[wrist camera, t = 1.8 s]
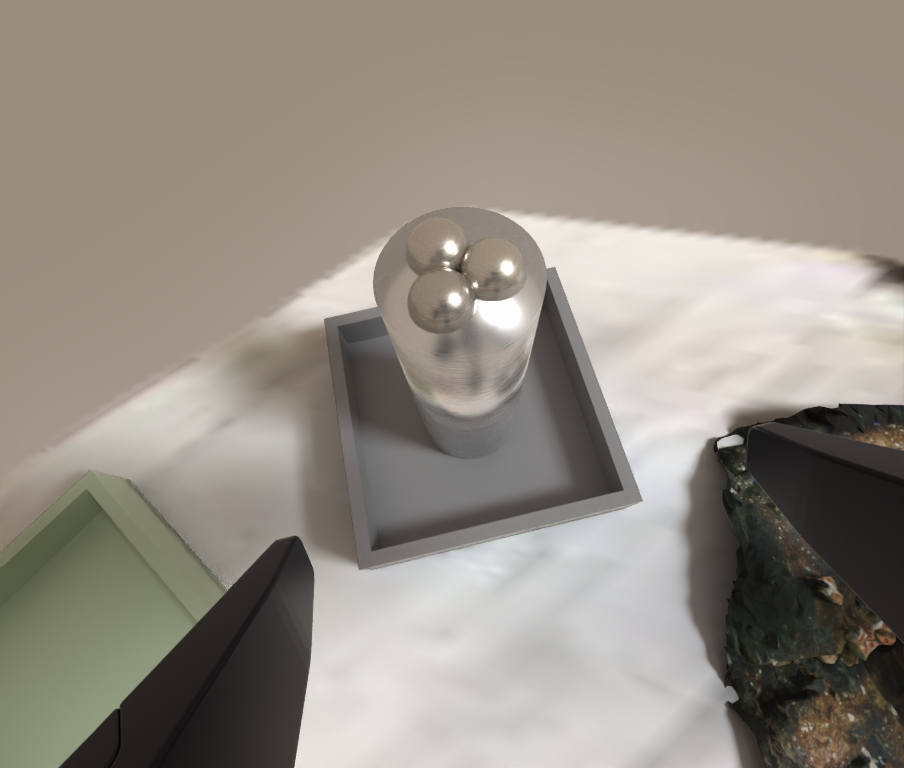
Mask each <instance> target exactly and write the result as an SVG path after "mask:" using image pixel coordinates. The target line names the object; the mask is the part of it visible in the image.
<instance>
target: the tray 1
mask: <svg viewBox="0 0 904 768" xmlns="http://www.w3.org/2000/svg"><path fill="white" fill-rule="evenodd" d="M227 591H228V590H227V589H226V588H225V587H224V586H223V585H222V584H221V582H220V581H219V580H218V579H217V578H216V577H215V576H214V575H213V573H212V572H211V571H210V570H209V569H208V568H207V567H206V566H205V564H204V563H203V562H202V561H201V560H200V559H199V558H198V556H197V555H196V554H195V553H194V552H193V551H192V550H191V549H190V547H189V546H188V545H187V544H186V543H185V542H184V541H183V540H182V538H181V537H180V536H179V535H178V534H177V533H176V532H175V530H174V529H173V528H172V527H171V526H170V525H169V524H168V523H167V521H166V520H165V519H164V518H163V517H162V516H161V515H160V514H159V512H158V511H157V510H156V509H155V508H154V507H153V506H152V504H151V503H150V502H149V501H148V500H147V499H146V498H145V497H144V495H143V494H142V493H141V492H140V491H139V490H138V489H137V487H136V486H135V485H134V484H133V483H132V482H131V481H130V480H128V479H124V478H120V477H116V476H112V475H108V474H104V473H100V472H96V471H92V470H90V471H89V472H88V473H87V474H86V475H84V476H83V477H82V478H81V479H80V480H79V481H78V482H77V483H76V484H75V485H74V486H72V487H71V488H70V489H69V490H68V491H67V492H66V493H65V494H64V495H63V496H62V497H60V498H59V499H58V500H57V501H56V502H55V503H54V504H53V505H52V506H51V507H50V508H48V509H47V510H46V511H45V512H44V513H43V514H42V515H41V516H40V517H39V518H38V519H36V520H35V521H34V522H33V523H32V524H31V525H30V526H29V527H28V528H27V529H26V530H24V531H23V532H22V533H21V534H20V535H19V536H18V537H17V538H16V539H15V540H14V541H12V542H11V543H10V544H9V545H8V546H7V547H6V548H5V549H4V550H3V551H2V552H0V768H58V767H59V766H60V765H61V764H62V763H63V762H64V761H65V760H66V759H67V758H68V757H69V756H70V755H71V754H72V753H73V752H74V751H75V750H76V749H77V748H78V747H79V746H80V745H81V744H82V743H83V742H84V741H85V740H86V739H87V738H88V737H89V736H90V735H91V734H92V733H93V732H94V731H95V729H96V728H97V727H98V726H99V725H100V724H101V723H102V722H103V721H104V720H105V719H106V718H107V717H108V716H109V715H110V714H111V713H112V712H113V710H115V709H117V708H119V707H120V704H121V702H122V701H123V700H124V699H125V698H126V697H127V696H128V695H129V694H130V693H131V692H132V691H133V690H134V689H135V688H136V687H137V685H138V684H139V683H140V682H141V681H142V680H143V679H144V678H145V677H146V676H147V675H148V674H149V673H150V672H151V671H152V670H153V669H154V668H155V667H156V665H157V664H158V663H159V662H160V661H161V660H162V659H163V658H164V657H165V656H166V655H167V654H168V653H169V652H170V651H171V650H172V649H173V648H174V647H175V646H176V644H177V643H178V642H179V641H180V640H181V639H182V638H183V637H184V636H185V635H186V634H187V633H188V632H189V631H190V630H191V629H192V628H193V627H194V626H195V625H196V623H197V622H198V621H199V620H200V619H201V618H202V617H203V616H204V615H205V614H206V613H207V612H208V611H209V610H210V609H211V608H212V607H213V606H214V605H215V603H216V602H217V601H218V600H219V599H220V598H221V597H222V596H223V595H224V594H225V593H226V592H227Z"/></svg>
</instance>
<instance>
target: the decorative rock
mask: <svg viewBox="0 0 904 768" xmlns="http://www.w3.org/2000/svg"><path fill="white" fill-rule="evenodd" d="M770 422H774V423H780V424H784V425H789V426H793V427H798V428H802V429H807V430H811V431H816V432H821V433H825V434H830V435H834V436H839V437H843V438H848V439H853V440H857V441H862V442H866V443H871V444H875V445H880V446H885V447H889V448H894V449H898V450H903V451H904V405H866V404H840V403H839V408H833V409H830V408H826V407H821V406H818V407H813V408H808V409H805V410H802V411H800V412H798V413H797V414H795V415H793V416H791V417H789V418H781V419H775V420H774V421H769V422H765V423H770ZM765 423H757V424H754V425H751V426H747V427H740V428H737V429H736V430H734V431H733V432H732V433H731V434H729V435H727V436H724V437H720V438H718V440H717V441H716V443H715V445H714V452H718V461H719V462H720V463H721V464H722V465H723V466H724V467H725V469H726V472H727V475H728V478H729V479H728V482H727V489H725V490H723V502H724V506H725V508H726V511H727V513H728V515H729V517H730V519H731V521H732V524H733V534H734V535H735V536H736V538H737V539H738V541H739V542H740V543H741V545H740V547H739V549H738V551H737V558H738V567H737V570H736V573H737V579H736V580H734V581H733V583H734V586H735V588H734V589H733V591H732V597H731V598H730V599H727V600H728V603H729V605H728V614H727V615H726V625H727V629H728V632H729V634H727V633H726V638H727V642H726V643H727V647H725V649H726V653H727V659H728V664H729V665H727V670H728V672H727V674H726V675H725V681H726V684H725V688H726V687H727V686H731V684H730V683H729V682H728V681H727V677H729V678H730V680H731V682H732V684H733V687H734V689H735V690H736V692H737V693H738V694H739V698H740V699H739V700H738V701H736V702H734V703H730V702H729V701H728V703H729V705H730V707H731V708H732V709H734V710H735V711H736V712H737V713H738V714H739V715H740V717H741V718H742V719H743V720H744V721H745V723H746V724H747V725H748V726H749V727H750V728H751V729H752V730H753V731H754V733H755V734H756V736H757V741H758V745H759V747H760V749H761V752H762V754H763V756H764V759H765V763H766V767H767V768H904V643H903V642H902V641H901V640H900V639H899V638H898V637H897V636H896V635H895V634H894V633H893V632H892V631H891V630H890V629H889V628H888V627H887V626H886V625H885V624H884V623H883V622H882V621H881V620H880V619H879V618H878V616H877V615H876V614H875V613H874V612H873V611H872V610H871V609H870V608H869V607H868V606H867V605H866V604H865V603H864V602H863V601H862V600H861V599H860V598H859V597H858V596H857V595H856V594H855V593H854V592H853V591H852V590H851V589H850V588H849V586H848V585H847V584H846V583H845V582H844V581H843V580H842V579H841V578H840V577H839V576H838V575H837V574H836V573H835V572H834V571H833V570H832V569H831V568H830V567H829V566H828V565H827V564H826V563H825V562H824V561H823V560H822V559H821V558H820V557H819V555H818V554H817V553H816V552H815V551H814V550H813V549H812V548H811V547H810V546H809V545H808V544H807V543H806V542H805V541H804V540H803V538H802V537H801V536H800V535H799V534H798V533H797V531H796V530H795V529H794V528H793V527H792V526H791V524H790V523H789V522H788V521H787V519H786V518H785V517H784V516H783V514H782V513H781V512H780V511H779V509H778V508H777V507H776V506H775V504H774V503H773V502H772V501H771V499H770V498H769V497H768V496H767V494H766V493H765V492H764V491H763V489H762V488H761V487H760V486H759V484H758V483H757V482H756V481H755V479H754V478H753V477H752V476H751V474H750V472H749V470H748V468H747V464H746V455H747V441H748V432H749V430H750V429H751V428H752V427H754V426H757V425H761V424H765ZM731 435H740V436H742V437H743V438H744V444H743V445H739V446H733V447H727V448H722V449H719V450H718V447H717V442H718V441H719V440H720V439H721V438H725V437H728V436H731Z"/></svg>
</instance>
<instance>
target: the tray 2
mask: <svg viewBox="0 0 904 768" xmlns="http://www.w3.org/2000/svg"><path fill="white" fill-rule="evenodd" d="M546 273H547V284H546V291H545V295H544V299H543V304H542V308H541V312H540V316H539V321H538V325H537V329H536V333H535V337H534V342H533V346H532V350H531V354H530V358H529V363H528V367H527V371H526V375H525V379H524V384H523V388H522V392H521V396H520V400H519V405H518V409H517V413H516V417H515V422H514V426H513V429H512V432H511V434H510V436H509V438H508V439H507V441H506V442H505V443H504V444H503V445H502V446H501V447H500V448H499V449H498V450H497V451H495V452H493V453H492V454H490V455H488V456H485V457H482V458H478V459H460V458H456V457H453V456H451V455H448V454H447V453H445V452H443V451H442V450H441V449H439V448H438V447H437V446H436V445H435V444H434V443H433V441H432V440H431V439H430V437H429V435H428V433H427V430H426V428H425V425H424V423H423V420H422V418H421V415H420V413H419V410H418V408H417V405H416V402H415V400H414V397H413V395H412V392H411V390H410V387H409V385H408V382H407V380H406V377H405V374H404V372H403V369H402V367H401V364H400V362H399V359H398V357H397V354H396V352H395V349H394V346H393V344H392V341H391V339H390V336H389V334H388V331H387V329H386V326H385V324H384V321H383V318H382V316H381V313H380V311H379V308H378V307H375V308H371V309H366V310H362V311H357V312H353V313H348V314H344V315H340V316H335V317H331V318H326V319H324V321H325V328H326V335H327V343H328V350H329V357H330V364H331V372H332V379H333V386H334V393H335V400H336V408H337V415H338V422H339V429H340V436H341V444H342V451H343V458H344V465H345V473H346V480H347V487H348V494H349V501H350V509H351V516H352V523H353V530H354V537H355V545H356V552H357V559H358V566H359V570H373V569H377V568H381V567H385V566H389V565H393V564H398V563H402V562H406V561H410V560H414V559H418V558H422V557H426V556H430V555H435V554H439V553H443V552H447V551H451V550H455V549H459V548H463V547H468V546H472V545H476V544H480V543H484V542H488V541H492V540H496V539H500V538H505V537H509V536H513V535H517V534H521V533H525V532H529V531H533V530H538V529H542V528H546V527H550V526H554V525H558V524H562V523H566V522H570V521H575V520H579V519H583V518H587V517H591V516H595V515H599V514H603V513H608V512H612V511H616V510H620V509H624V508H627V507H629V506H632V505H634V504H637V503H639V502H642V501H643V500H642V498H641V495H640V492H639V490H638V487H637V484H636V482H635V479H634V476H633V474H632V471H631V468H630V466H629V463H628V460H627V458H626V455H625V452H624V450H623V447H622V444H621V442H620V439H619V436H618V434H617V431H616V428H615V426H614V423H613V420H612V418H611V415H610V412H609V410H608V407H607V404H606V402H605V399H604V396H603V394H602V391H601V388H600V386H599V383H598V380H597V378H596V375H595V372H594V370H593V367H592V364H591V362H590V359H589V356H588V354H587V351H586V348H585V346H584V343H583V340H582V338H581V335H580V332H579V330H578V327H577V324H576V322H575V319H574V316H573V314H572V311H571V308H570V306H569V303H568V300H567V298H566V295H565V292H564V290H563V287H562V284H561V282H560V279H559V276H558V274H557V271H556V268H555V267H553V268H548V269H546Z"/></svg>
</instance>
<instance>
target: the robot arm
mask: <svg viewBox="0 0 904 768" xmlns="http://www.w3.org/2000/svg"><path fill="white" fill-rule="evenodd" d="M746 464H747V468H748V470H749V472H750V474H751V476H752V477H753V478H754V479H755V481H756V482H757V483H758V484H759V486H760V487H761V488H762V489H763V491H764V492H765V493H766V494H767V496H768V497H769V498H770V499H771V501H772V502H773V503H774V504H775V506H776V507H777V508H778V509H779V511H780V512H781V513H782V514H783V516H784V517H785V518H786V519H787V521H788V522H789V523H790V524H791V526H792V527H793V528H794V529H795V530H796V531H797V533H798V534H799V535H800V536H801V537H802V538H803V540H804V541H805V542H806V543H807V544H808V545H809V546H810V547H811V548H812V549H813V550H814V551H815V552H816V553H817V554H818V555H819V557H820V558H821V559H822V560H823V561H824V562H825V563H826V564H827V565H828V566H829V567H830V568H831V569H832V570H833V571H834V572H835V573H836V574H837V575H838V576H839V577H840V578H841V579H842V580H843V581H844V582H845V583H846V584H847V585H848V586H849V588H850V589H851V590H852V591H853V592H854V593H855V594H856V595H857V596H858V597H859V598H860V599H861V600H862V601H863V602H864V603H865V604H866V605H867V606H868V607H869V608H870V609H871V610H872V611H873V612H874V613H875V614H876V615H877V616H878V618H879V619H880V620H881V621H882V622H883V623H884V624H885V625H886V626H887V627H888V628H889V629H890V630H891V631H892V632H893V633H894V634H895V635H896V636H897V637H898V638H899V639H900V640H901V641H902V642H903V643H904V451H903V450H898V449H894V448H889V447H885V446H880V445H875V444H871V443H866V442H862V441H857V440H853V439H848V438H843V437H839V436H834V435H830V434H825V433H821V432H816V431H811V430H807V429H802V428H798V427H793V426H789V425H784V424H780V423H774V422H770V423H765V424H761V425H757V426H754V427H752V428H751V429H750V430H749V432H748V441H747V455H746ZM313 599H314V571H313V567H312V565H311V562H310V560H309V558H308V555H307V553H306V550H305V548H304V546H303V543H302V541H301V540H300V538H299V537H297V536H291V537H287V538H282V539H279V540H276V541H275V542H274V543H273V544H272V545H271V546H270V547H269V548H268V549H267V550H266V551H265V552H264V553H263V554H262V555H261V556H260V557H259V558H258V559H257V560H256V561H255V562H254V564H253V565H252V566H251V567H250V568H249V569H248V570H247V571H246V572H245V573H244V574H243V575H242V576H241V577H240V578H239V579H238V580H237V581H236V582H235V583H234V585H233V586H232V587H231V588H230V589H229V590H228V591H227V592H226V593H225V594H224V595H223V596H222V597H221V598H220V599H219V600H218V601H217V602H216V603H215V605H214V606H213V607H212V608H211V609H210V610H209V611H208V612H207V613H206V614H205V615H204V616H203V617H202V618H201V619H200V620H199V621H198V622H197V623H196V625H195V626H194V627H193V628H192V629H191V630H190V631H189V632H188V633H187V634H186V635H185V636H184V637H183V638H182V639H181V640H180V641H179V642H178V643H177V644H176V646H175V647H174V648H173V649H172V650H171V651H170V652H169V653H168V654H167V655H166V656H165V657H164V658H163V659H162V660H161V661H160V662H159V663H158V664H157V665H156V667H155V668H154V669H153V670H152V671H151V672H150V673H149V674H148V675H147V676H146V677H145V678H144V679H143V680H142V681H141V682H140V683H139V684H138V685H137V687H136V688H135V689H134V690H133V691H132V692H131V693H130V694H129V695H128V696H127V697H126V698H125V699H124V700H123V701H122V702H121V704H120V707H119V708H117V709H115V710H113V712H112V713H111V714H110V715H109V716H108V717H107V718H106V719H105V720H104V721H103V722H102V723H101V724H100V725H99V726H98V727H97V728H96V729H95V731H94V732H93V733H92V734H91V735H90V736H89V737H88V738H87V739H86V740H85V741H84V742H83V743H82V744H81V745H80V746H79V747H78V748H77V749H76V750H75V751H74V752H73V753H72V754H71V755H70V756H69V757H68V758H67V759H66V760H65V761H64V762H63V763H62V764H61V765H60V766H59V767H58V768H294V766H295V759H296V753H297V746H298V740H299V733H300V727H301V720H302V714H303V707H304V701H305V694H306V688H307V681H308V675H309V667H310V659H311V645H312V622H313Z"/></svg>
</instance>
